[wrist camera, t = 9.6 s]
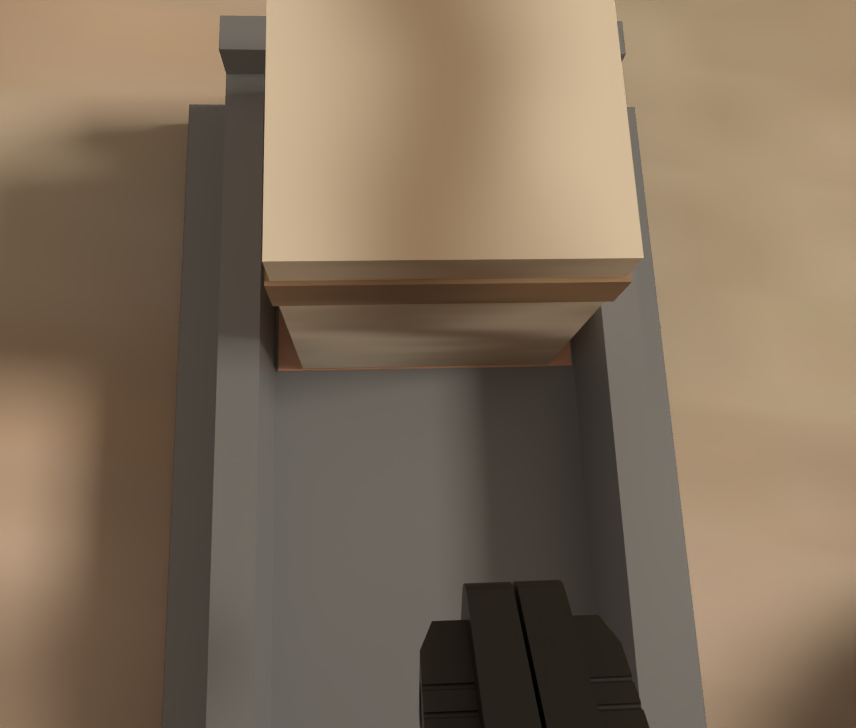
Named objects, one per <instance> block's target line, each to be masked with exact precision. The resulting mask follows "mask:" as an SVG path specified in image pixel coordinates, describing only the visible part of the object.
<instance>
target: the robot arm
mask: <svg viewBox="0 0 856 728" xmlns="http://www.w3.org/2000/svg"><path fill="white" fill-rule="evenodd" d="M419 727H420V728H650V727H649V724H648V721H647V718H646V715H645V712H644V709H642V707H641V700H640V697H639V694H638V691H637V688H636V685H635V682H633V681H632V674H631V671H630V668H629V665H628V662H627V659H626V656H625V653H624V650H623V647H622V644H621V642H620V641H619V639H618V638H617V637H616V636H615V635H614V633H613V632H612V631H611V630H610V628H609V627H608V626H607V625H606V624H605V622H604V621H603V620H602V619H601V618H600V616H599V615H574V616H572V612H571V609H570V605H569V601H568V598H567V594H566V591H565V588H564V585H563V583H562V581H561V580H539V581H513V583H512V584H511V582H488V583H464V584H463V589H462V606H461V620H446V621H432V622H431V624H430V627H429V629H428V632H427V634H426V637H425V639H424V642H423V644H422V646H421V649H420V667H419Z"/></svg>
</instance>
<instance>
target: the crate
mask: <svg viewBox="0 0 856 728" xmlns="http://www.w3.org/2000/svg"><path fill="white" fill-rule="evenodd" d="M643 258H644V255H643V246H642V238H641V229H640V220H639V211H638V202H637V194H636V185H635V176H634V167H633V159H632V150H631V141H630V132H629V123H628V115H627V106H626V97H625V88H624V79H623V71H622V62H621V53H620V44H619V36H618V27H617V18H616V9H615V0H267V9H266V67H265V126H264V184H263V242H262V262H263V265H264V268H265V273H264V287H265V289H266V292H267V294H268V296H269V299H270V301H271V304H272V306H279V307H280V310H281V312H282V315H283V317H284V320H285V323H286V325H287V328H288V331H289V333H290V336H291V338H292V341H293V344H294V346H295V349H296V352H297V354H298V357H299V359H300V362H301V365H302V367H303V369H313V368H364V367H414V366H465V365H516V364H549V363H550V362H551V361H552V359H553V358H554V357H555V356H556V355H557V354H558V353H559V352H560V351H561V349H562V348H563V347H564V346H565V345H566V344H567V343H568V342H569V341H570V339H571V338H572V337H573V336H574V335H575V334H576V333H577V332H578V331H579V329H580V328H581V327H582V326H583V325H584V324H585V323H586V322H587V321H588V319H589V318H590V317H591V316H592V315H593V314H594V313H595V312H596V311H597V309H598V308H599V307H600V306H601V305H602V304H603V303H604V302H614V301H615V300H616V298H617V297H618V296H619V295H620V294H621V293H622V292H623V291H624V290H625V289H626V288H627V287H628V286H629V285H630V283H631V282H632V277H631V272H632V271H633V269H634V268H635V267H636V266H637V265H638V264H639V263H640V262H641V261H642V259H643Z"/></svg>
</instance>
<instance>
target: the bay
mask: <svg viewBox="0 0 856 728" xmlns="http://www.w3.org/2000/svg"><path fill="white" fill-rule="evenodd" d="M617 27H618V36H619V44H620V53H621V62H622V60H623V58H624V56H625V54H626V52H625V43H624V35H623V26H622V22H620V21H617ZM219 51H220V54H221V58H222V61H223V64H224V67H225V71H226V100H225V105H189V126H188V148H187V171H186V193H185V216H184V238H183V261H182V283H181V305H180V328H179V350H178V373H177V395H176V418H175V440H174V463H173V485H172V508H171V530H170V553H169V575H168V598H167V620H166V642H165V665H164V687H163V710H162V728H420V727H419V667H420V649H421V646H422V644H423V642H424V639H425V637H426V634H427V632H428V629H429V627H430V624H431V622H432V621H446V620H461V606H462V589H463V584H464V583H488V582H511V584H512V583H513V581H539V580H561V581H562V583H563V585H564V588H565V591H566V594H567V598H568V601H569V605H570V609H571V612H572V616H574V615H599V616H600V618H601V619H602V620H603V621H604V622H605V624H606V625H607V626H608V627H609V628H610V630H611V631H612V632H613V633H614V635H615V636H616V637H617V638H618V639H619V641H620V642H621V644H622V647H623V650H624V653H625V656H626V659H627V662H628V665H629V668H630V671H631V674H632V681H633V682H635V685H636V688H637V691H638V694H639V697H640V700H641V707H642V709H644V712H645V715H646V718H647V721H648V724H649V727H650V728H707V724H706V716H705V707H704V698H703V690H702V681H701V673H700V664H699V656H698V647H697V638H696V630H695V621H694V613H693V604H692V596H691V587H690V578H689V570H688V561H687V553H686V544H685V536H684V527H683V518H682V510H681V501H680V493H679V484H678V476H677V467H676V458H675V450H674V441H673V433H672V424H671V416H670V407H669V399H668V390H667V381H666V373H665V364H664V356H663V347H662V339H661V330H660V321H659V313H658V304H657V296H656V287H655V279H654V270H653V261H652V253H651V244H650V236H649V227H648V219H647V210H646V201H645V193H644V184H643V176H642V167H641V159H640V150H639V141H638V133H637V124H636V116H635V107H627V115H628V123H629V132H630V141H631V150H632V159H633V167H634V176H635V185H636V194H637V202H638V211H639V220H640V229H641V238H642V246H643V255H644V258H643V259H642V261H641V262H640V263H639V264H638V265H637V266H636V267H635V268H634V269H633V271H632V272H631V277H632V282H631V283H630V285H629V286H628V287H627V288H626V289H625V290H624V291H623V292H622V293H621V294H620V295H619V296H618V297H617V298H616V300H615V301H614V302H604V303H603V304H602V305H601V306H600V307H599V308H598V309H597V311H596V312H595V313H594V314H593V315H592V316H591V317H590V318H589V319H588V321H587V322H586V323H585V324H584V325H583V326H582V327H581V328H580V329H579V331H578V332H577V333H576V334H575V335H574V336H573V337H572V338H571V339H570V341H569V342H568V343H567V344H566V345H565V346H564V347H563V348H562V349H561V351H560V352H559V353H558V354H557V355H556V356H555V357H554V358H553V359H552V361H551V362H550V363H549V364H516V365H465V366H414V367H364V368H313V369H303V367H302V365H301V362H300V359H299V357H298V354H297V352H296V349H295V346H294V344H293V341H292V338H291V336H290V333H289V331H288V328H287V325H286V323H285V320H284V317H283V315H282V312H281V310H280V307H279V306H272V304H271V301H270V299H269V296H268V294H267V292H266V289H265V287H264V273H265V268H264V265H263V262H262V242H263V184H264V126H265V67H266V16H220V33H219Z"/></svg>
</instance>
